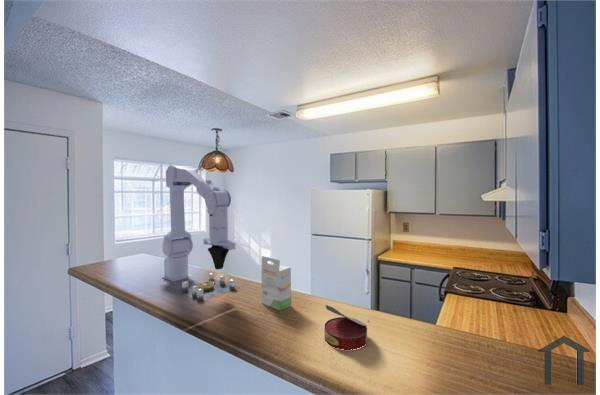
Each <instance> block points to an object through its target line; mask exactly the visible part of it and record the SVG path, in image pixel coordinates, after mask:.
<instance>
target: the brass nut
mask: <svg viewBox="0 0 600 395" xmlns="http://www.w3.org/2000/svg"><path fill="white" fill-rule="evenodd" d="M198 284H199V289H200V288H202V289H203V291H210V290H212V289H214V282H213V281H209V280H204V281H200V282H199V283H198Z"/></svg>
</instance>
